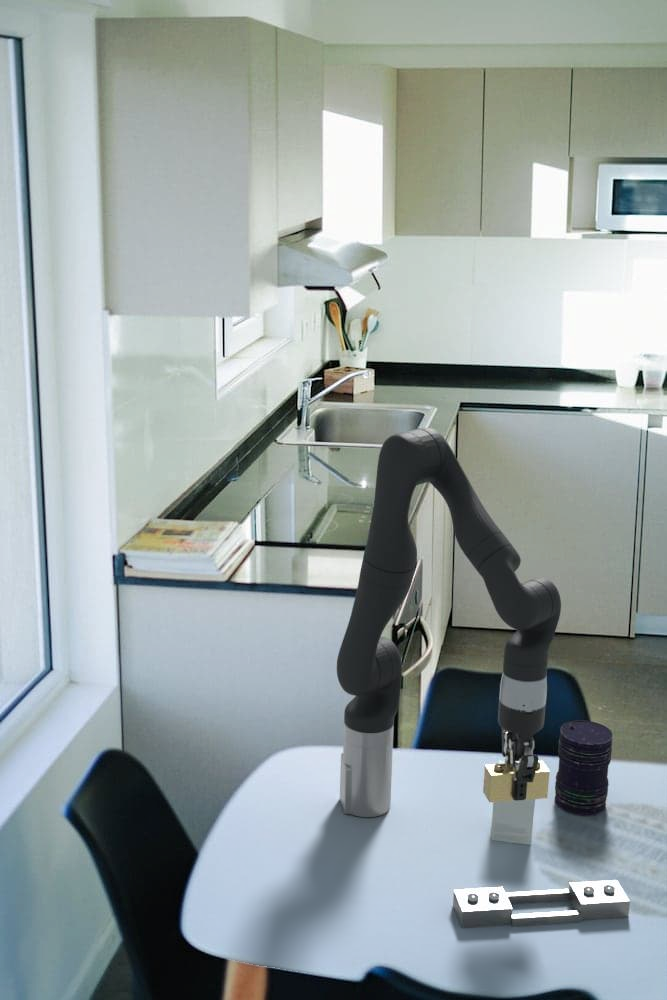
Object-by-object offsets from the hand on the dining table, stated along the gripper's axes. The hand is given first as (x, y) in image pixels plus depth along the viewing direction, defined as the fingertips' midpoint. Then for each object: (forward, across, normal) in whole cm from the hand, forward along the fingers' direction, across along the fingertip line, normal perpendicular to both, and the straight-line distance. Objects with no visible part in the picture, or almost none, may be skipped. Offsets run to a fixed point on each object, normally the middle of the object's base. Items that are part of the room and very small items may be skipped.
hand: (515, 792), depth 207 cm
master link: (0, 0, 0) cm, 0 cm away
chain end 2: (+17, +9, +10) cm, 22 cm away
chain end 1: (+17, +9, -4) cm, 20 cm away
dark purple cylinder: (+17, -24, +21) cm, 36 cm away
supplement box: (+17, -15, +5) cm, 24 cm away
